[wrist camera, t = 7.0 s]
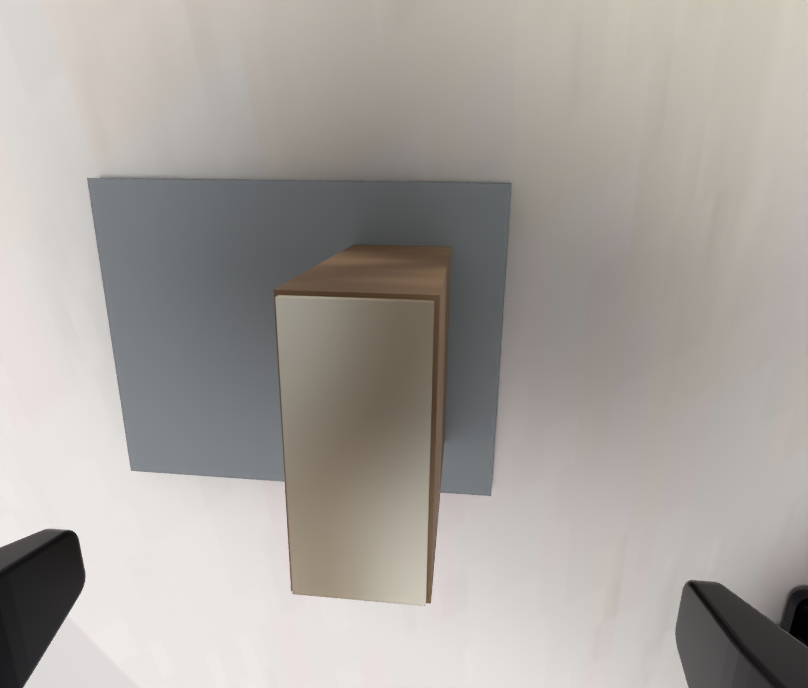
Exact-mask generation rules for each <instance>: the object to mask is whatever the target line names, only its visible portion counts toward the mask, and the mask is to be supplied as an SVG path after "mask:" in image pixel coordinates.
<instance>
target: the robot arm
mask: <svg viewBox="0 0 808 688" xmlns="http://www.w3.org/2000/svg"><path fill="white" fill-rule="evenodd" d="M84 583H85V569H84V564H83V558H82V553H81V548H80V543H79V538H78V536H77V535H76V533H75V532H73V531H71V530H61V529H45V530H42V531H40V532H37V533H35V534H32V535H30V536H28V537H25V538H23V539H20V540H18V541H15V542H13V543H10V544H8V545H5V546H3V547H1V548H0V688H23V687H24V685H25V683H26V682H27V680H28V679H29V677H30V676H31V674H32V673H33V671H34V669H35V668H36V666H37V664H38V663H39V661H40V659H41V658H42V656H43V654H44V653H45V651H46V650H47V648H48V646H49V645H50V643H51V641H52V640H53V638H54V636H55V635H56V633H57V631H58V630H59V628H60V626H61V625H62V623H63V622H64V620H65V618H66V617H67V615H68V613H69V612H70V610H71V608H72V607H73V605H74V603H75V602H76V600H77V598H78V597H79V595H80V593H81V591H82V589H83V587H84ZM806 604H808V590H800V591H798V592H796V593H794V594H793V595H792V596H791V598H790V601H789V604H788V608H787V612H786V616H785V620H784V623H783V627H782V628H781V627H779V626H778V625H777V624H775V623H774V622H773V621H771V620H770V619H768V618H767V617H766V616H764V615H763V614H762V613H760V612H759V611H757V610H756V609H755V608H753V607H752V606H751V605H749V604H748V603H747V602H745V601H744V600H742V599H741V598H740V597H738V596H737V595H736V594H734V593H733V592H731V591H730V590H729V589H727V588H726V587H725V586H723V585H721V584H720V583H717V582H709V581H696V580H690V581H688V582H686V583H685V585H684V587H683V591H682V596H681V602H680V607H679V612H678V618H677V623H676V633H675V635H676V643H677V648H678V652H679V655H680V659H681V662H682V666H683V670H684V673H685V677H686V680H687V684H688V687H689V688H808V605H807V606H805V605H806Z"/></svg>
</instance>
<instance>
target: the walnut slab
mask: <svg viewBox="0 0 808 688" xmlns="http://www.w3.org/2000/svg"><path fill="white" fill-rule="evenodd" d="M450 270H451V247H445V246H403V245H360V244H353V245H352V246H350V247H348V248H346V249H344V250H343V251H341V252H339V253H337V254H336V255H334V256H332V257H330V258H329V259H327V260H325V261H323V262H322V263H320V264H318V265H316V266H314V267H313V268H311V269H309V270H307V271H306V272H304V273H302V274H300V275H299V276H297V277H295V278H293V279H291V280H290V281H288V282H286V283H284V284H283V285H281V286H279V287H277V288H276V289H274V290H273V292H274V309H275V326H276V343H277V359H278V376H279V393H280V410H281V427H282V443H283V460H284V477H285V494H286V511H287V528H288V544H289V561H290V578H291V591H293V594H298V595H309V596H320V597H331V598H342V599H353V600H364V601H375V602H386V603H397V604H408V605H419V606H426V603H431V595H432V583H433V571H434V559H435V548H436V536H437V524H438V512H439V501H440V489H441V477H442V465H443V454H444V440H445V412H446V384H447V355H448V327H449V299H450Z"/></svg>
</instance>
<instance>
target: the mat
mask: <svg viewBox="0 0 808 688" xmlns="http://www.w3.org/2000/svg"><path fill="white" fill-rule="evenodd" d="M87 180H88V187H89V193H90V200H91V207H92V213H93V220H94V227H95V233H96V240H97V247H98V253H99V260H100V267H101V273H102V280H103V287H104V293H105V300H106V307H107V313H108V320H109V327H110V333H111V340H112V347H113V353H114V360H115V367H116V373H117V380H118V387H119V393H120V400H121V407H122V413H123V420H124V427H125V433H126V440H127V447H128V454H129V460H130V467H131V471H142V472H156V473H170V474H185V475H199V476H213V477H228V478H242V479H256V480H270V481H285V477H284V460H283V443H282V427H281V410H280V393H279V376H278V359H277V343H276V326H275V309H274V292H273V290H274V289H276V288H277V287H279V286H281V285H283V284H284V283H286V282H288V281H290V280H291V279H293V278H295V277H297V276H299V275H300V274H302V273H304V272H306V271H307V270H309V269H311V268H313V267H314V266H316V265H318V264H320V263H322V262H323V261H325V260H327V259H329V258H330V257H332V256H334V255H336V254H337V253H339V252H341V251H343V250H344V249H346V248H348V247H350V246H352V245H353V244H360V245H403V246H445V247H451V270H450V299H449V327H448V355H447V384H446V412H445V440H444V454H443V465H442V477H441V489H440V492H442V493H456V494H471V495H485V496H491V488H492V473H493V458H494V442H495V427H496V412H497V396H498V381H499V366H500V350H501V335H502V320H503V304H504V289H505V274H506V258H507V243H508V228H509V212H510V197H511V183H453V182H370V181H287V180H204V179H121V178H87Z"/></svg>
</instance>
